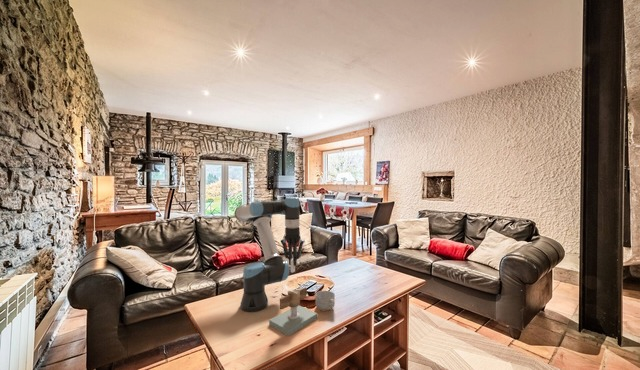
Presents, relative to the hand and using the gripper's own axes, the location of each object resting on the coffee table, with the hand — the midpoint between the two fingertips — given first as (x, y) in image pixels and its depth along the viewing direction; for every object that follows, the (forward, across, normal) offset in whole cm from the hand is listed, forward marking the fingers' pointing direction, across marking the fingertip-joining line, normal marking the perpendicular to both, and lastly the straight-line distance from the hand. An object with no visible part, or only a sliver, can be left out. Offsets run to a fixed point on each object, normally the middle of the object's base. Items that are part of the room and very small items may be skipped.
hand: (292, 271), depth 138 cm
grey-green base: (+23, +2, -6) cm, 24 cm away
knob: (+14, +3, -6) cm, 16 cm away
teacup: (+23, +15, +10) cm, 30 cm away
